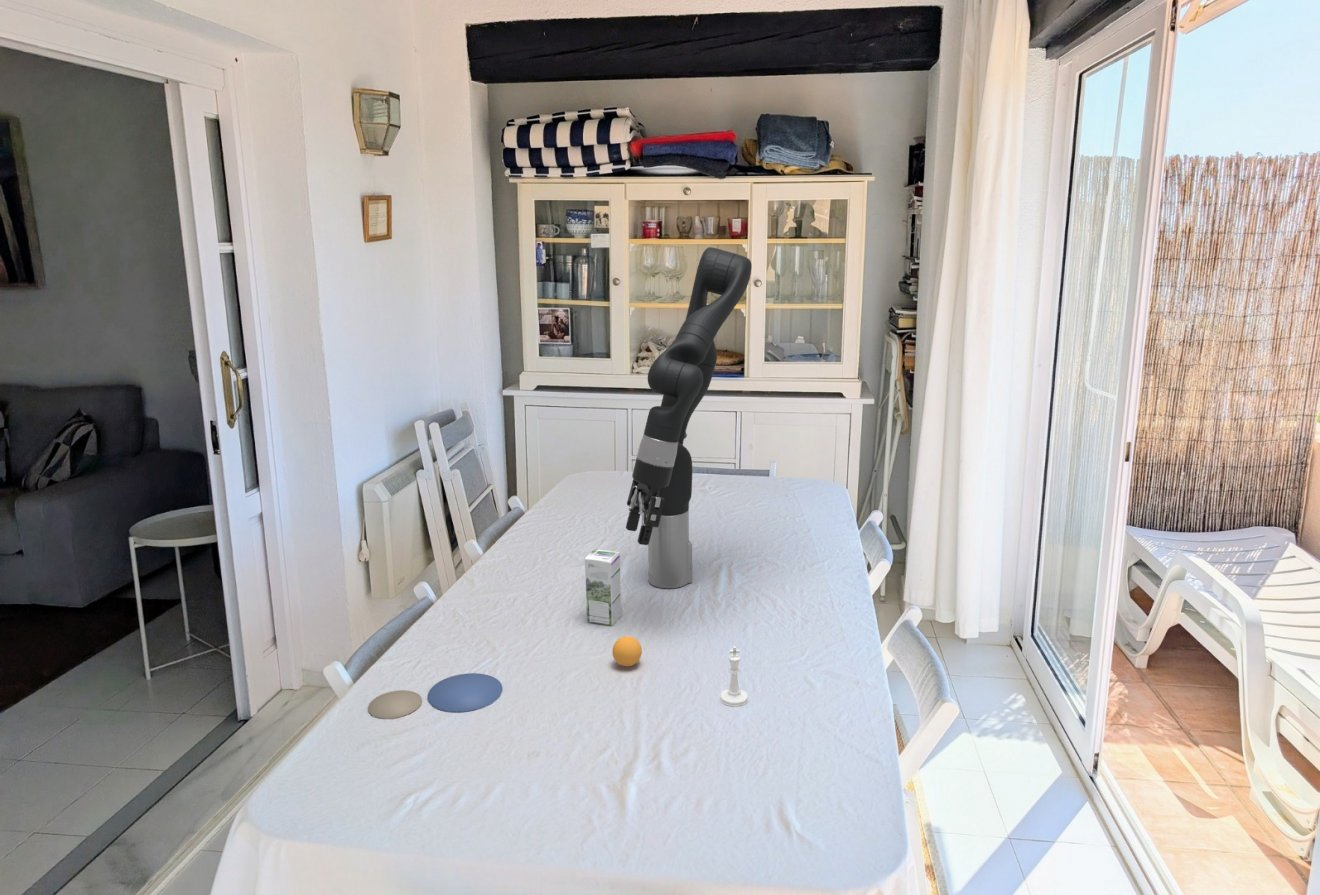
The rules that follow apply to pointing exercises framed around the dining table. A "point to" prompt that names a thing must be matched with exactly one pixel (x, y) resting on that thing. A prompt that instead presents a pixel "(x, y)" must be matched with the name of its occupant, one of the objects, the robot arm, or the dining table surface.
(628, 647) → the ball
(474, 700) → the disc
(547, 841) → the dining table surface
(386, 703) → the disc
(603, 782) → the dining table surface
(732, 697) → the chess piece
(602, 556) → the syrup box
